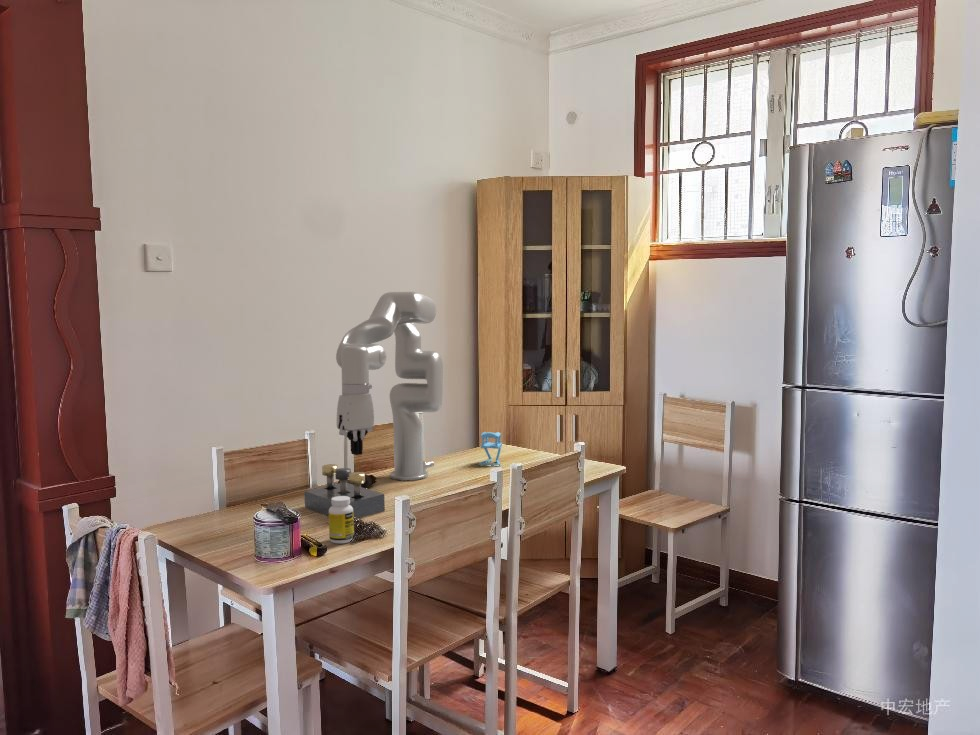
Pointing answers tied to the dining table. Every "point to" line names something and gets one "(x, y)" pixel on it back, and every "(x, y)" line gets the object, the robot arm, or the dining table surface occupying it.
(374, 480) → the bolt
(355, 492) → the knob
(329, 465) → the knob
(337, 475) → the knob middle
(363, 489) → the mount
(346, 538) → the pill bottle
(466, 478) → the dining table surface
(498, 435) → the chair
